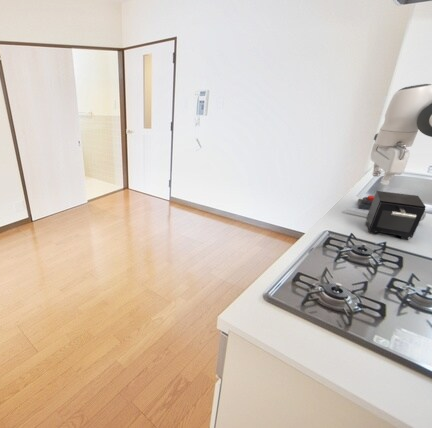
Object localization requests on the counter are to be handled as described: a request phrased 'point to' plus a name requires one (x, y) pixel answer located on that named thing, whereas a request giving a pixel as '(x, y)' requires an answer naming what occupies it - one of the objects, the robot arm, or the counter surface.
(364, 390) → the counter surface
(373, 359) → the counter surface
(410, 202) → the oven
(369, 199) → the release button
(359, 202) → the release box
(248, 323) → the counter surface
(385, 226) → the oven door
